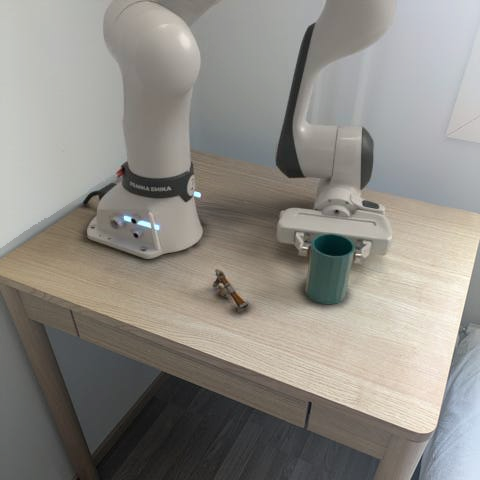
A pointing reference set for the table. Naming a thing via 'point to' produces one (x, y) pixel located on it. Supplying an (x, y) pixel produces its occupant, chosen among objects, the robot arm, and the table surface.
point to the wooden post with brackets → (229, 290)
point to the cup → (329, 268)
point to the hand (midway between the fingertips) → (330, 256)
